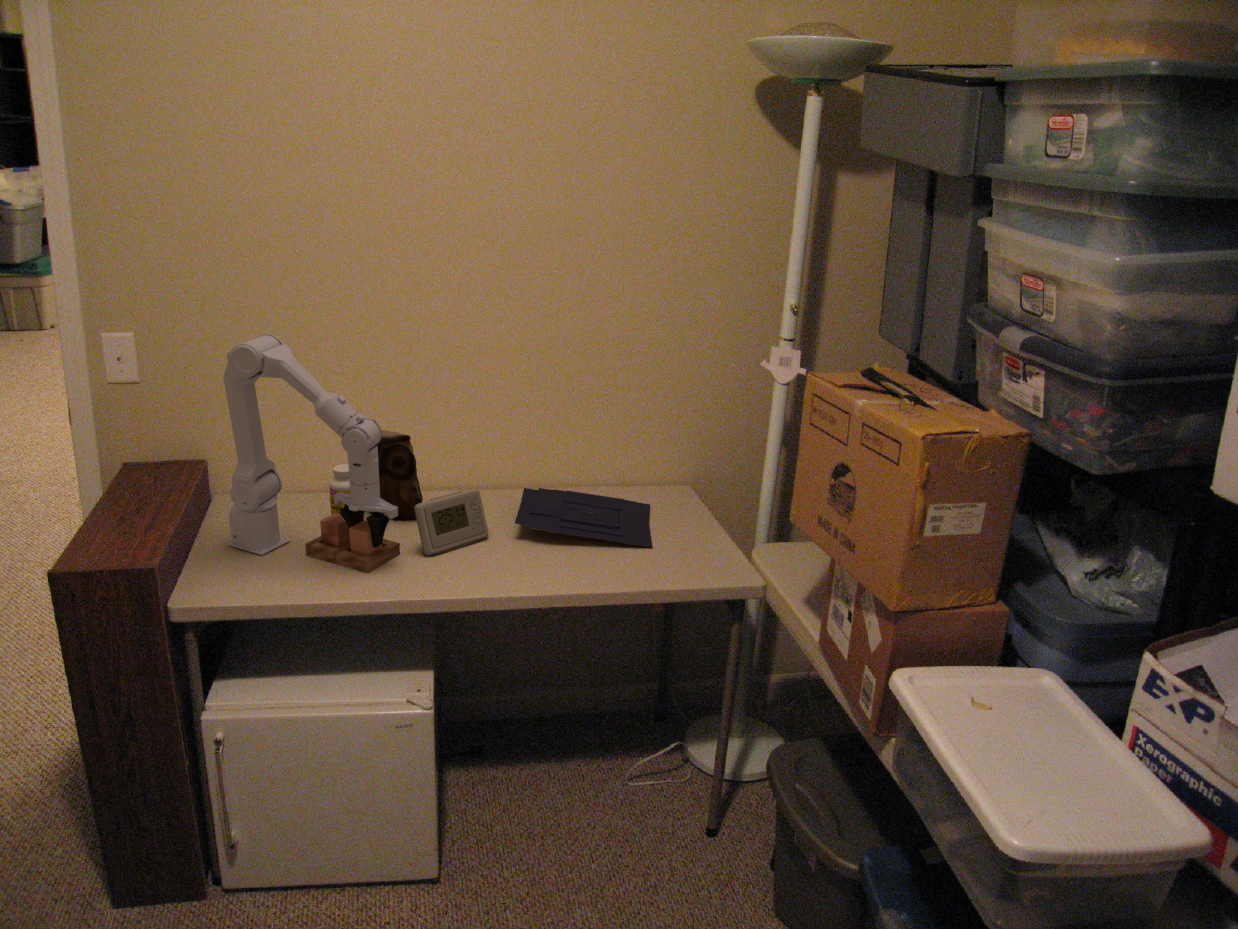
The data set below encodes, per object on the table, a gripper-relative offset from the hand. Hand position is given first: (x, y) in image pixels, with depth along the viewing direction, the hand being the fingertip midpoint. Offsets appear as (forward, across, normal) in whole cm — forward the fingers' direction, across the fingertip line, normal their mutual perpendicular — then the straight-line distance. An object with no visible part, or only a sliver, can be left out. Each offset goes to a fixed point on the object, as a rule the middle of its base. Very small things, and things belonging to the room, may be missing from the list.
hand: (367, 542), depth 194 cm
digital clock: (+4, +10, +15) cm, 18 cm away
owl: (+4, -10, +23) cm, 25 cm away
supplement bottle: (+4, -16, +12) cm, 20 cm away
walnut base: (+4, -4, 0) cm, 5 cm away
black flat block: (+4, +29, +39) cm, 49 cm away
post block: (+2, 0, 0) cm, 2 cm away
